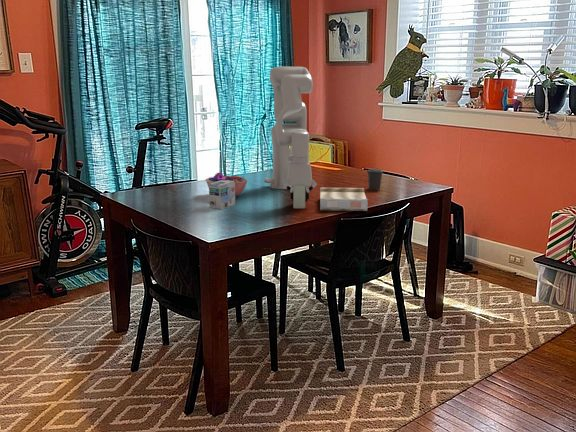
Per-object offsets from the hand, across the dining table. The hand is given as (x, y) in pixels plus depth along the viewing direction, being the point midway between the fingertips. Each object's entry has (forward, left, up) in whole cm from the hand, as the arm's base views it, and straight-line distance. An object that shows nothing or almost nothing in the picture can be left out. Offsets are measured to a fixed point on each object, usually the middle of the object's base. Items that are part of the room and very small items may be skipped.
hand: (299, 200), depth 254 cm
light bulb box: (-34, -2, -3) cm, 34 cm away
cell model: (-35, +16, -3) cm, 39 cm away
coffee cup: (+36, +36, -3) cm, 51 cm away
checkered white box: (+19, +3, -2) cm, 19 cm away
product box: (0, 0, -3) cm, 3 cm away
